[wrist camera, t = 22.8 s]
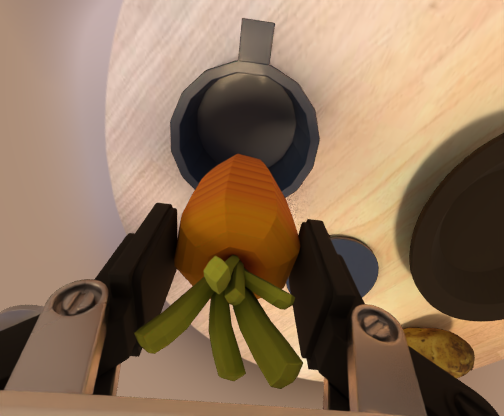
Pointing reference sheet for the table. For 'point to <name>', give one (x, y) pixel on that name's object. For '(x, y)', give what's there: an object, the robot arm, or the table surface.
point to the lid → (356, 263)
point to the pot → (246, 116)
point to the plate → (464, 239)
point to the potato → (442, 349)
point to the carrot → (234, 269)
